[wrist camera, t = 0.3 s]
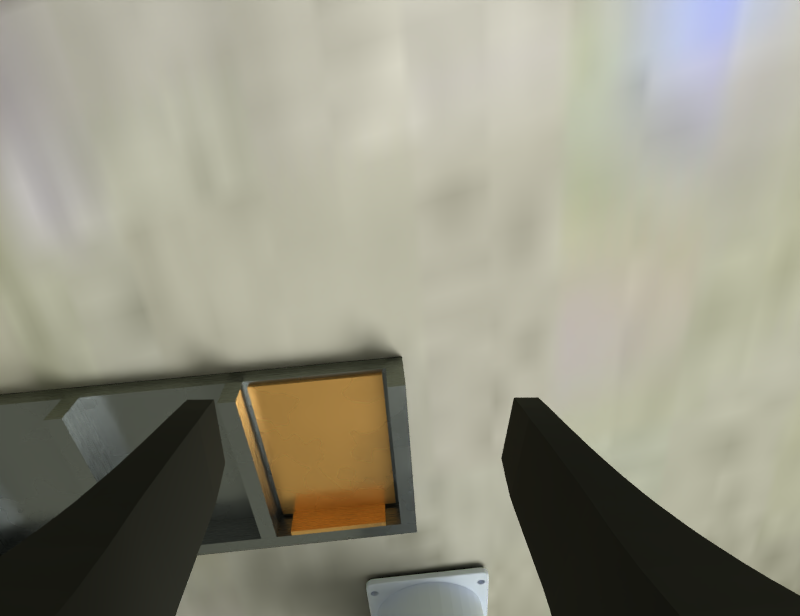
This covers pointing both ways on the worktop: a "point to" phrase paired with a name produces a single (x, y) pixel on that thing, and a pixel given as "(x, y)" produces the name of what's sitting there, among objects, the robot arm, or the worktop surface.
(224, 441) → the tray
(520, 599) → the worktop surface
